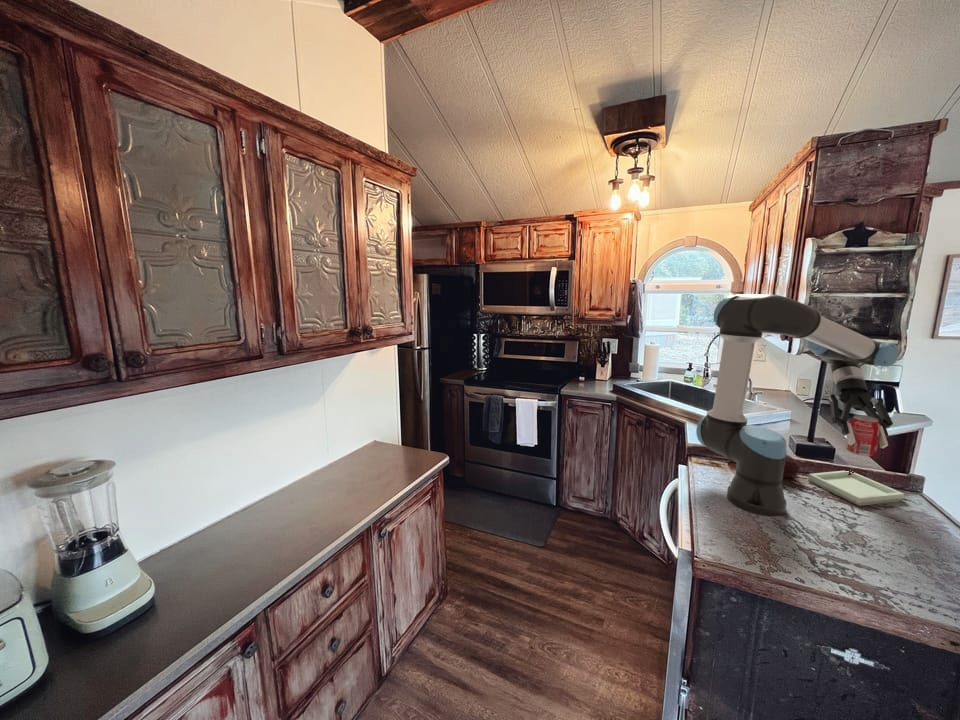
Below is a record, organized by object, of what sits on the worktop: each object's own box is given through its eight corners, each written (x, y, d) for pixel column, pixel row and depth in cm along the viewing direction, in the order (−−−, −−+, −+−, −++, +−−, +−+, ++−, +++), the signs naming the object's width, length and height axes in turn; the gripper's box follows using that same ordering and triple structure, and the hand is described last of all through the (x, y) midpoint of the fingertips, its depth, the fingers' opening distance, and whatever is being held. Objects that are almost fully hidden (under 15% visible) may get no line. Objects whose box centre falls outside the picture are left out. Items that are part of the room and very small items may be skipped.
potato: (806, 482, 131) (809, 459, 130) (777, 484, 130) (780, 462, 128) (777, 467, 142) (779, 446, 141) (750, 469, 141) (752, 448, 140)
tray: (858, 505, 116) (860, 498, 116) (807, 480, 132) (808, 473, 132) (902, 501, 118) (904, 493, 118) (847, 476, 134) (848, 470, 134)
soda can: (862, 448, 126) (868, 414, 124) (882, 458, 119) (888, 422, 117) (838, 448, 127) (844, 414, 125) (857, 457, 120) (863, 421, 118)
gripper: (882, 390, 130) (903, 453, 118) (809, 386, 137) (823, 445, 126) (894, 378, 124) (918, 444, 112) (817, 375, 132) (832, 436, 120)
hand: (868, 444), depth 119 cm, fingers closed on soda can, 7 cm apart
